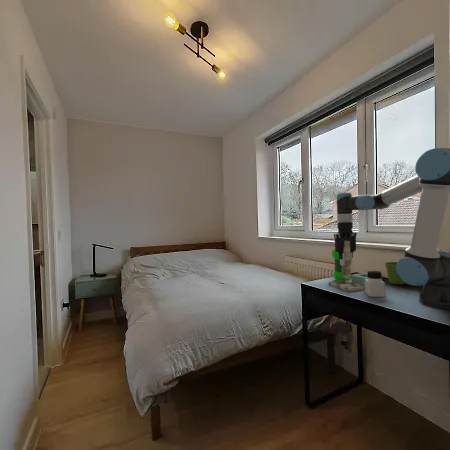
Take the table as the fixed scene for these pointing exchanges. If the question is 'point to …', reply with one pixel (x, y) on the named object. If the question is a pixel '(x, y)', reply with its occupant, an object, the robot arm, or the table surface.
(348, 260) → the dowel
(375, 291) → the medicine bottle
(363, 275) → the teal square bowl
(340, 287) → the tray
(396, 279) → the plant pot
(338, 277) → the plastic bottle
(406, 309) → the table surface
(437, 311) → the table surface
